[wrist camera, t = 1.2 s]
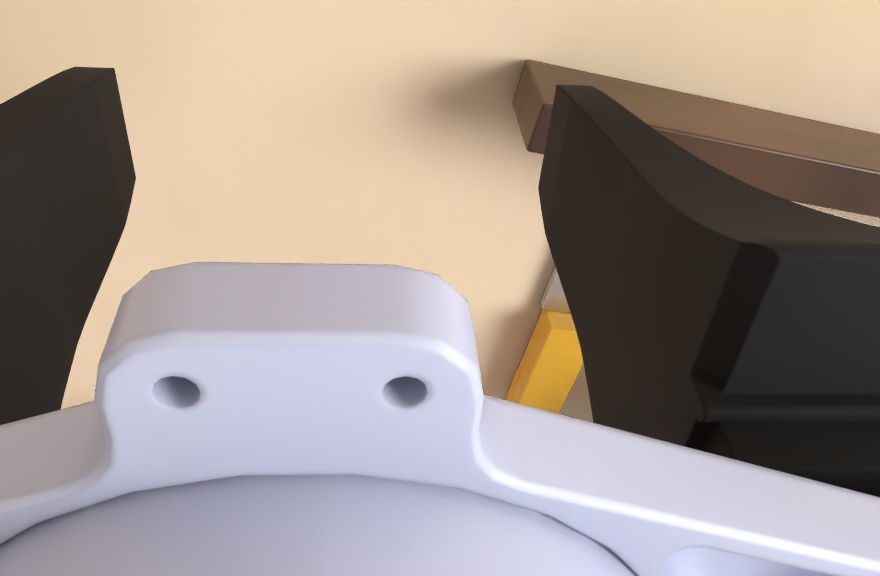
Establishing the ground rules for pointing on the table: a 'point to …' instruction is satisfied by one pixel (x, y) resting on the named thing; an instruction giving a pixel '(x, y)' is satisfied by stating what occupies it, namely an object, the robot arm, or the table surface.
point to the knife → (549, 355)
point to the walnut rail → (728, 138)
